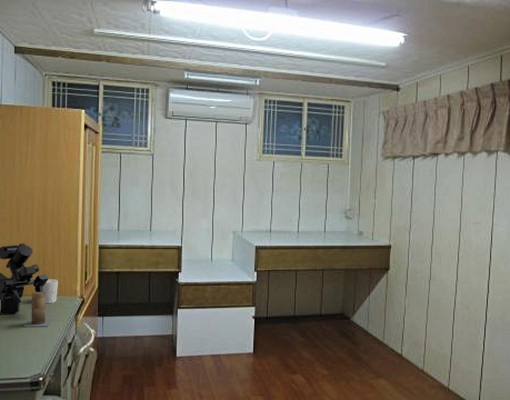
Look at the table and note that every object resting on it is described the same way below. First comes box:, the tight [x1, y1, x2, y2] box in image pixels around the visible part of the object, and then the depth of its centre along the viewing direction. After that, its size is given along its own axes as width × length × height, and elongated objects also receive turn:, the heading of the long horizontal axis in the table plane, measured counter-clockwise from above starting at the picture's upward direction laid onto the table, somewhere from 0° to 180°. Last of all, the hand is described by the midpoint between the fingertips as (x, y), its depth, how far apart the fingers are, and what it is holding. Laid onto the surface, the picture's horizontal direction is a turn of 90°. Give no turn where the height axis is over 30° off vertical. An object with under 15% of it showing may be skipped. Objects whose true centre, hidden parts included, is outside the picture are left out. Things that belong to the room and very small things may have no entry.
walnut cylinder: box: [31, 291, 46, 324], centre depth 189 cm, size 5×5×12 cm
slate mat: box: [23, 318, 54, 328], centre depth 189 cm, size 9×9×1 cm
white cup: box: [43, 278, 59, 304], centre depth 222 cm, size 8×8×10 cm
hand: (31, 300), depth 192 cm, fingers open, 9 cm apart
